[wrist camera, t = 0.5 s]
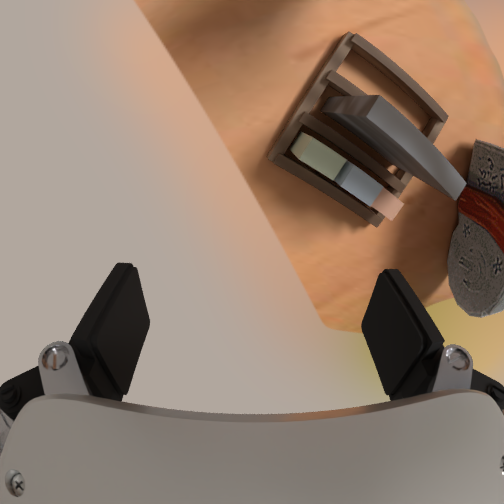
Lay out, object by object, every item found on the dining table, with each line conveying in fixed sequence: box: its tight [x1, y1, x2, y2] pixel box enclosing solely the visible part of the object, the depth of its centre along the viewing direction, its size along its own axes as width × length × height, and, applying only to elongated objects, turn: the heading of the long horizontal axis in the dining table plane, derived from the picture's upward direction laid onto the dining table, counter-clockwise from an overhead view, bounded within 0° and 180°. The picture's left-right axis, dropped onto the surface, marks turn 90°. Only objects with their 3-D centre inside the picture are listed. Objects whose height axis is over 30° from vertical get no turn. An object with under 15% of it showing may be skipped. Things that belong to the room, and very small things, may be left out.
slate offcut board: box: [334, 160, 383, 206], centre depth 34 cm, size 3×5×9 cm, turn 61°
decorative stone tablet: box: [447, 139, 504, 317], centre depth 33 cm, size 19×6×30 cm
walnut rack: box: [267, 32, 448, 227], centre depth 33 cm, size 22×20×3 cm
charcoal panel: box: [321, 95, 467, 201], centre depth 28 cm, size 2×14×16 cm, turn 61°
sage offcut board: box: [289, 131, 346, 180], centre depth 33 cm, size 3×5×8 cm, turn 61°
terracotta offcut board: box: [371, 187, 404, 221], centre depth 36 cm, size 3×5×7 cm, turn 61°
